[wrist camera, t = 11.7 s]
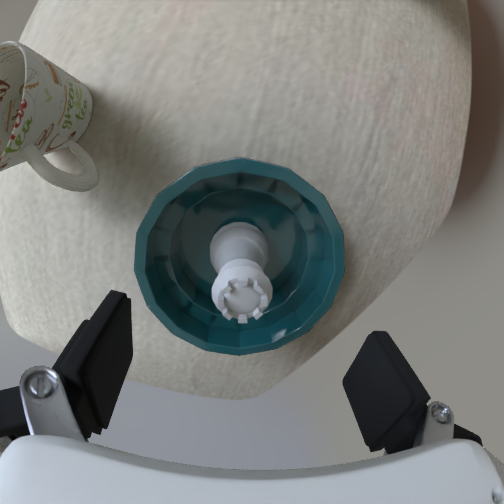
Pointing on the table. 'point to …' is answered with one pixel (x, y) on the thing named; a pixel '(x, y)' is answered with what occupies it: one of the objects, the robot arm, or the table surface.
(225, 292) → the rook chess piece
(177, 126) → the table surface
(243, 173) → the bowl
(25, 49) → the mug
